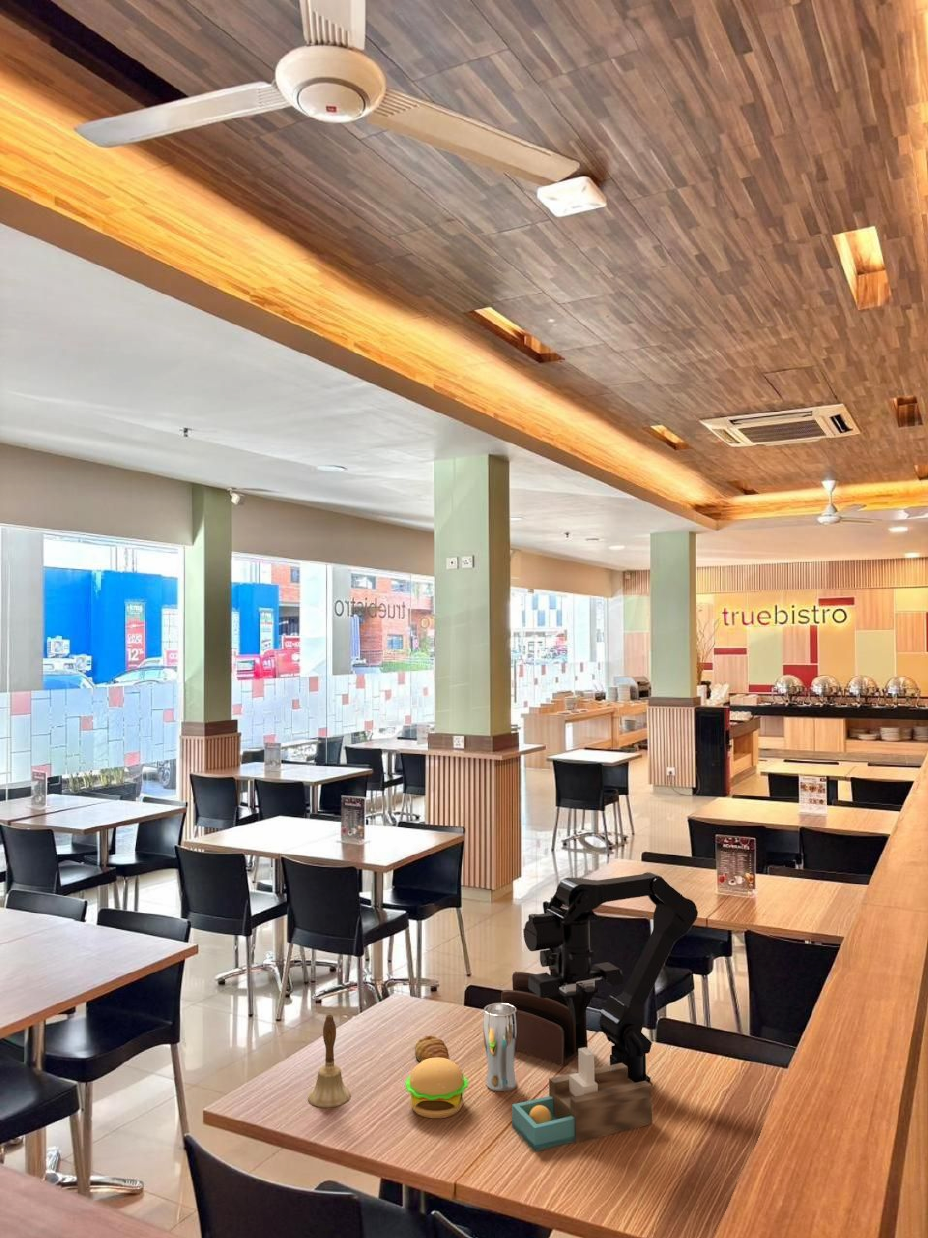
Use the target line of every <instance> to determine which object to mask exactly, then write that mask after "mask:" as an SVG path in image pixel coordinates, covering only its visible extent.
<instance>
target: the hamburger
mask: <svg viewBox="0 0 928 1238" xmlns="http://www.w3.org/2000/svg"><path fill="white" fill-rule="evenodd" d="M468 1086H469V1081H468V1078H466V1077H465V1075H464V1073H463V1071H462V1070H461V1068H460V1066H459V1065H458V1064H456V1062H454V1061H453V1060H451V1059H446V1058H429V1059H425V1060H423V1061H422V1062H420V1061H419V1063H418V1064H417V1065H415V1067H414V1068H413V1069H412V1071H411V1073H410V1075H408V1077H407V1079H406V1082H405V1089H406V1091H407V1092H408V1093H410V1101H409V1102H410V1107H411V1108H412V1110H413V1111H414V1112H415V1113H416V1114H417V1115H419V1116H421V1117H424V1118H427V1119H444V1118H448V1117H452V1116H454V1115H455V1114H457V1113H458V1112H460V1110H461V1108H462V1107H463V1105H464V1097H463V1095H464V1094H463V1093H464V1091H466V1089H467V1088H468Z"/></svg>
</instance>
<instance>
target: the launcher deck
mask: <svg viewBox="0 0 928 1238" xmlns="http://www.w3.org/2000/svg"><path fill="white" fill-rule="evenodd" d="M576 1073H579V1071H578V1072H573V1073H568V1074H563V1075H558V1076H555V1077H554V1076H553V1077H550V1078H549V1079H548V1092H549V1093H548V1096H551V1097H552V1098H553V1115H554V1116H555V1117H556V1118H557V1119H561V1118H565V1117H570V1116H572V1117H573V1118H574V1119H575V1143H576V1144H578V1143H581V1142H585V1141H589V1140H594V1139H598V1138H602V1137H605V1136H608V1135H614V1134H617V1133H622V1132H626V1131H630V1130H633V1129H637V1128H641V1127H645V1126H649V1125H653V1098H652V1097H653V1094H652V1093H653V1090H652V1087H653V1086H652V1084H651V1083H649V1081H648V1082H647V1081H641V1082H637V1083H634V1082H633V1081H632V1080H630V1079H629V1078H628V1067H627V1066H626V1065H624V1064H623V1063H618V1064H613V1065H610V1064H609V1065H605V1066H599V1067H594V1079H595V1082H596V1083H597V1084H598V1091H597V1092H593V1093H588V1094H584V1095H580V1096H574V1095H573V1094H572V1093H571V1092H570V1091H569V1075H571V1074H576Z"/></svg>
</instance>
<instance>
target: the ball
mask: <svg viewBox="0 0 928 1238" xmlns="http://www.w3.org/2000/svg"><path fill="white" fill-rule="evenodd" d="M529 1117H530V1118H531V1119H532V1120H533V1121H534V1122H535V1123H536V1124H540V1123H544V1122H549V1121H551V1113H550V1111H549V1110H548V1108H546V1107H545V1106H542V1105H537V1106H535V1107H534V1108H532V1110H531V1111H530V1115H529Z"/></svg>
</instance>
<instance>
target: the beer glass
mask: <svg viewBox="0 0 928 1238" xmlns="http://www.w3.org/2000/svg"><path fill="white" fill-rule="evenodd" d="M483 1010H484V1012H483V1025H482V1026H483V1027H482V1028H483V1030H482V1032H483V1042H484V1043H483V1044H484V1051H485V1055H486V1059H487V1075H486V1080H485V1084H487V1086H488V1087H489V1088H490V1089H489V1088H488V1087H487V1086H486V1087H487V1088H488V1089H489V1090H491V1089H492V1091H494V1090H495V1091H494V1092H499V1091H504V1092H508V1091H512V1090H513V1089H515V1088H516V1086H517V1080H516V1074H515V1058H516V1053H517V1050H516V1047H517V1039H518V1023H517V1012H516V1007H515V1006H513V1005H511V1004H507V1003H501V1002H494V1003H491V1004H487V1005H486V1006H484V1008H483Z"/></svg>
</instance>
